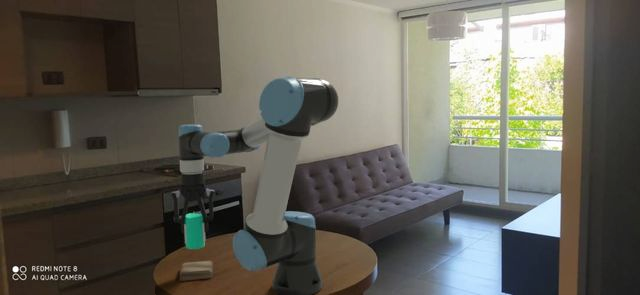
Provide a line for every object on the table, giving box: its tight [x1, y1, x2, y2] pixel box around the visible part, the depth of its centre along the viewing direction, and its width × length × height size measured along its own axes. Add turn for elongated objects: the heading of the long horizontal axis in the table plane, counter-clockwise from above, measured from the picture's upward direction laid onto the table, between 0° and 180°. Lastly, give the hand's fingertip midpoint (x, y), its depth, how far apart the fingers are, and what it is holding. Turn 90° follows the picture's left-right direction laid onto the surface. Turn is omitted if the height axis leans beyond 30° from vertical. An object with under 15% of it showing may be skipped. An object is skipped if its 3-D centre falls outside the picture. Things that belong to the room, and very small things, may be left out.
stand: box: [179, 260, 214, 282], centre depth 152 cm, size 10×10×2 cm
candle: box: [185, 212, 206, 250], centre depth 151 cm, size 6×6×12 cm
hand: (195, 241), depth 151 cm, fingers closed on candle, 5 cm apart
